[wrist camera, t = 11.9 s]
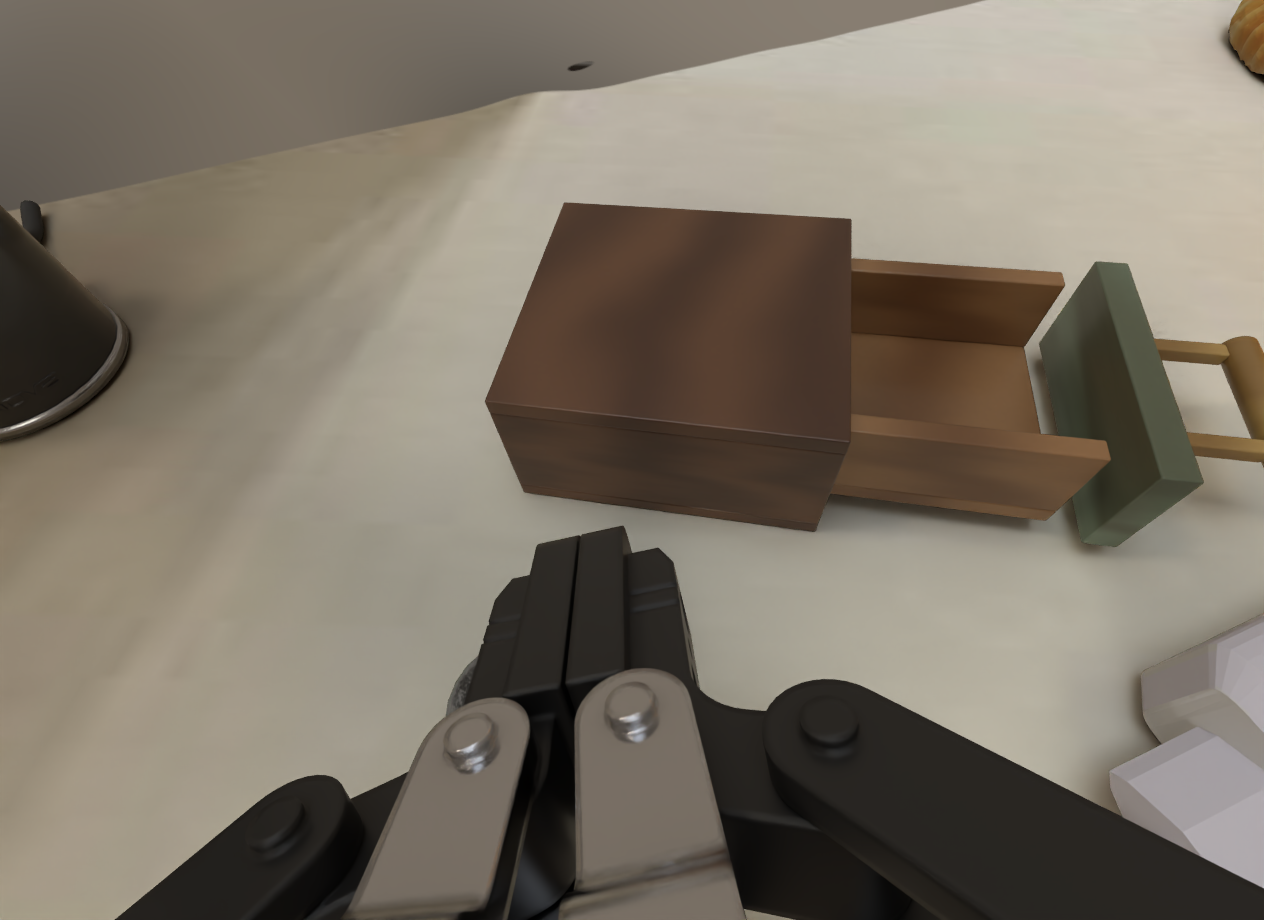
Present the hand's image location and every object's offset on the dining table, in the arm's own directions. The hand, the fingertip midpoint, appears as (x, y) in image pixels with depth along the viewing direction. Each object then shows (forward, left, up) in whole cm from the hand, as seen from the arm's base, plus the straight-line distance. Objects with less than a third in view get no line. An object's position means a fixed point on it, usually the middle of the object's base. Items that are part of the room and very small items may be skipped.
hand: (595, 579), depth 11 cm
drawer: (-1, +19, -12) cm, 23 cm away
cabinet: (-10, +10, -13) cm, 19 cm away
